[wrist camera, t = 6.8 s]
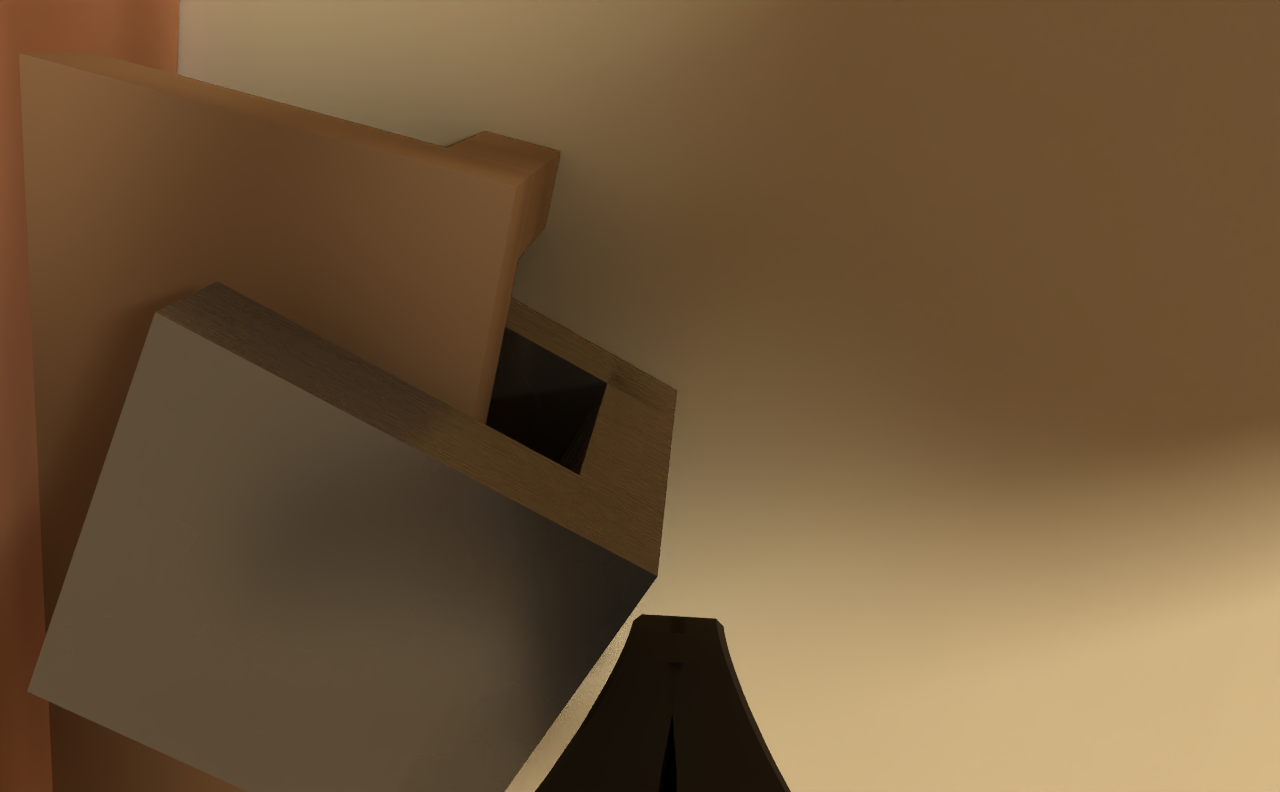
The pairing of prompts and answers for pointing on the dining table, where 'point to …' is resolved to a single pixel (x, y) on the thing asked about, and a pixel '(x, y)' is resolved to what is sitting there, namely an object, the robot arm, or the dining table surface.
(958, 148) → the dining table surface
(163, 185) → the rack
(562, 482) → the open storage bin
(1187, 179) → the dining table surface
